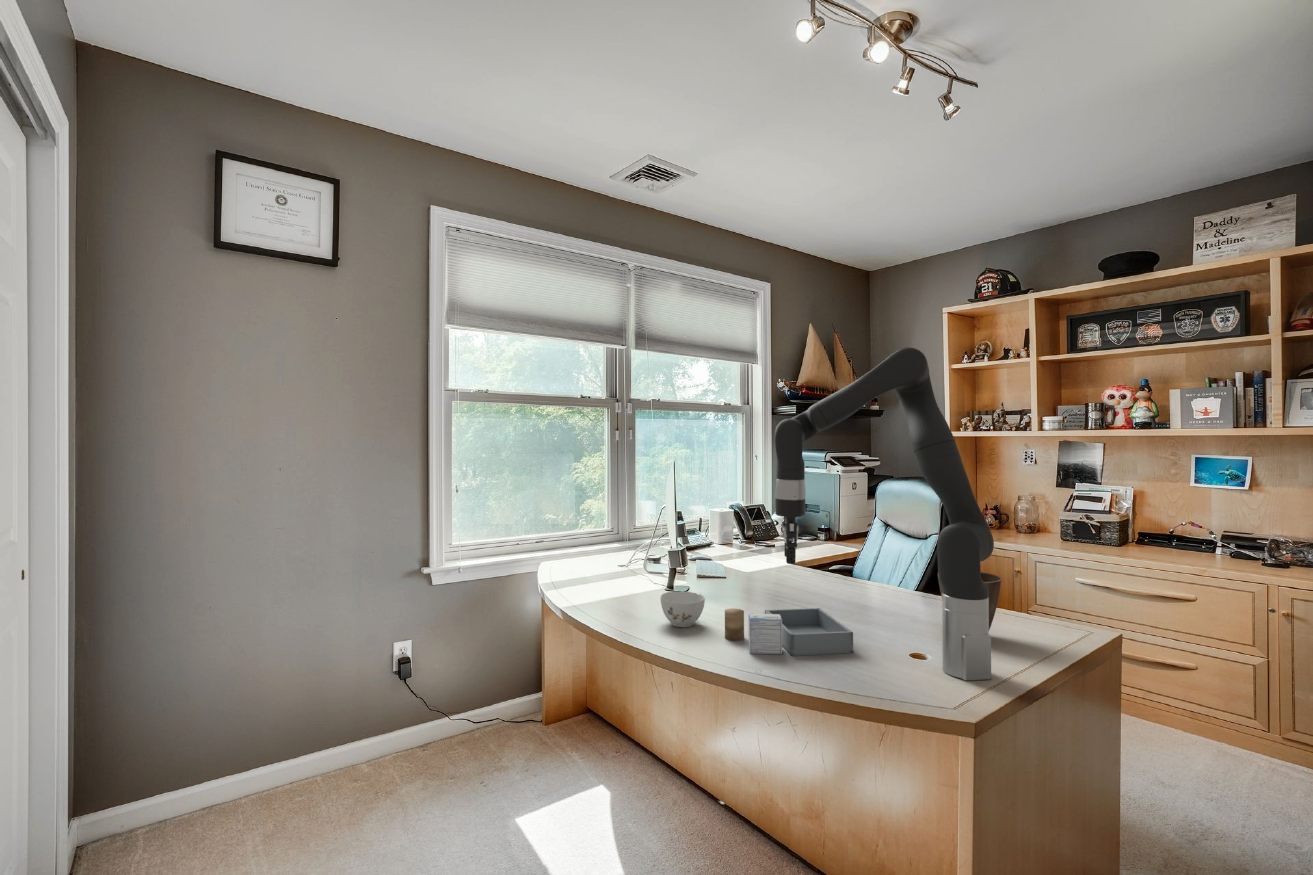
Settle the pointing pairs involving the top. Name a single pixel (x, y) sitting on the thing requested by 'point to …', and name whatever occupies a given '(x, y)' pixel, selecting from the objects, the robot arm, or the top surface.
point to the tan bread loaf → (734, 624)
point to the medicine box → (765, 634)
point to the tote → (813, 632)
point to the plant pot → (994, 591)
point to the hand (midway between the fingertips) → (789, 560)
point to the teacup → (682, 607)
